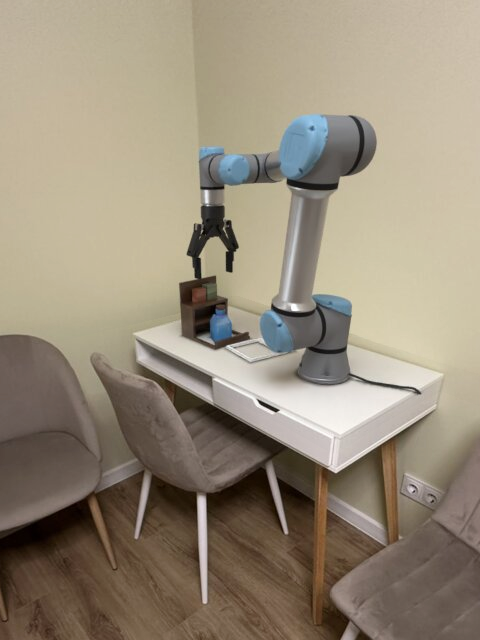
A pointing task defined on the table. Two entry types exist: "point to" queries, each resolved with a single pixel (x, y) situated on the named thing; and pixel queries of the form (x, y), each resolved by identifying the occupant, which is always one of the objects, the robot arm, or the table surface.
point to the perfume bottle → (220, 324)
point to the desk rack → (203, 310)
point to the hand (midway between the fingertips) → (214, 275)
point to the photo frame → (261, 340)
